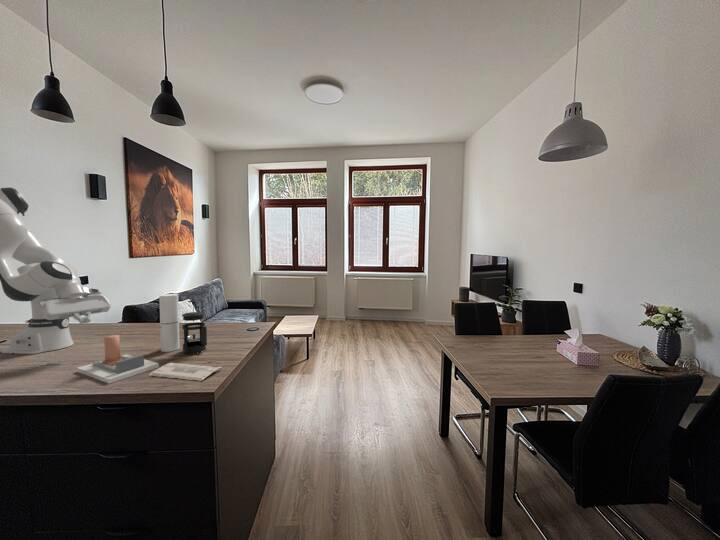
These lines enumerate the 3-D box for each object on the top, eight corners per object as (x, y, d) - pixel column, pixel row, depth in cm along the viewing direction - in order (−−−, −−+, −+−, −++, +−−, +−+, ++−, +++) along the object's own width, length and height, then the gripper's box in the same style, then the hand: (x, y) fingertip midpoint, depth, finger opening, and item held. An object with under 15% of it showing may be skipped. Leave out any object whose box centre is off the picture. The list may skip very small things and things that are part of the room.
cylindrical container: (170, 352, 129) (168, 296, 127) (156, 351, 130) (155, 295, 129) (183, 347, 136) (181, 294, 134) (170, 346, 137) (168, 293, 136)
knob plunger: (101, 363, 110) (100, 337, 109) (117, 359, 115) (116, 334, 114) (108, 366, 108) (107, 339, 107) (124, 361, 112) (123, 335, 112)
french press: (175, 352, 128) (174, 301, 127) (194, 346, 137) (193, 298, 136) (196, 356, 125) (195, 302, 123) (213, 349, 134) (213, 299, 132)
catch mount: (77, 371, 107) (76, 357, 107) (126, 357, 122) (126, 344, 121) (108, 383, 98) (108, 367, 97) (158, 367, 112) (158, 353, 112)
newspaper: (225, 369, 112) (224, 363, 112) (202, 386, 100) (202, 380, 100) (174, 364, 116) (173, 358, 116) (146, 380, 105) (146, 373, 104)
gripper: (39, 294, 112) (52, 322, 108) (105, 289, 130) (117, 312, 126) (35, 305, 114) (47, 333, 110) (100, 298, 132) (112, 321, 128)
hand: (85, 322), depth 118 cm, fingers closed
